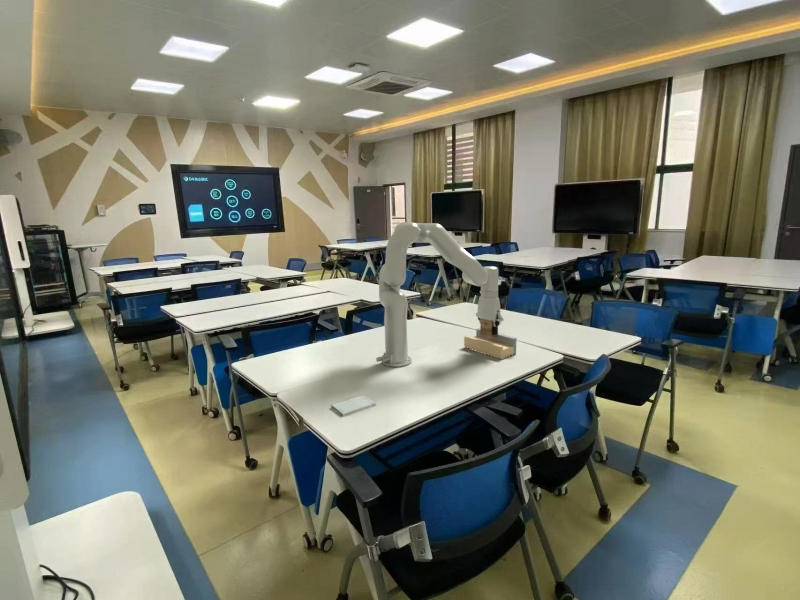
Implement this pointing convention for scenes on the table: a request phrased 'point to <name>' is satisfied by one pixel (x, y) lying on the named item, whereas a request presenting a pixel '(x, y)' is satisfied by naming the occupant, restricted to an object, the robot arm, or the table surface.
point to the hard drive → (353, 405)
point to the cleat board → (492, 344)
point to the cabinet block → (486, 328)
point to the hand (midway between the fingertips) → (489, 332)
